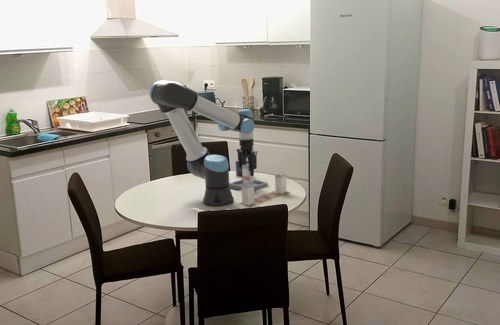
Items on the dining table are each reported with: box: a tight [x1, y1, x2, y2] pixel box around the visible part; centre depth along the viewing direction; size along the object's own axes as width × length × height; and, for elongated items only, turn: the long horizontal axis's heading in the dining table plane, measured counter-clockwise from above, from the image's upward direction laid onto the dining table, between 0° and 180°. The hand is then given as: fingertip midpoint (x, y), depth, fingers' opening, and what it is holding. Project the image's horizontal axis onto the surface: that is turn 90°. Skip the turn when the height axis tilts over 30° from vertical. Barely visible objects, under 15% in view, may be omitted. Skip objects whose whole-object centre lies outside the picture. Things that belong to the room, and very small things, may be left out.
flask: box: [234, 160, 248, 177], centre depth 300 cm, size 9×3×11 cm, turn 65°
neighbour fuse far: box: [274, 171, 288, 194], centre depth 261 cm, size 4×4×10 cm
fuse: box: [241, 182, 255, 207], centre depth 244 cm, size 4×4×10 cm
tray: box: [229, 178, 269, 191], centre depth 276 cm, size 14×16×2 cm
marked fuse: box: [242, 164, 253, 183], centre depth 274 cm, size 4×4×10 cm
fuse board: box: [238, 190, 291, 208], centre depth 254 cm, size 30×8×1 cm, turn 135°
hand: (248, 180), depth 275 cm, fingers closed on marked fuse, 4 cm apart
